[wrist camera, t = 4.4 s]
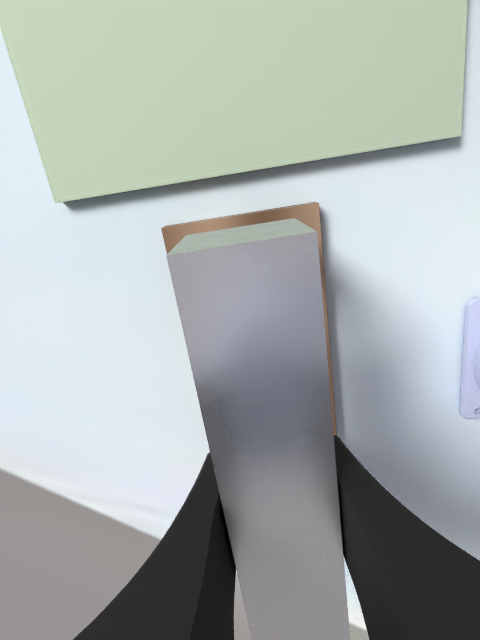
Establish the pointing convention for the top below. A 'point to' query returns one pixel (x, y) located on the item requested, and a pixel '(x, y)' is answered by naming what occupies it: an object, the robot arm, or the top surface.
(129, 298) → the top surface
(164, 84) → the mat
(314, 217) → the stand
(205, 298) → the rail
